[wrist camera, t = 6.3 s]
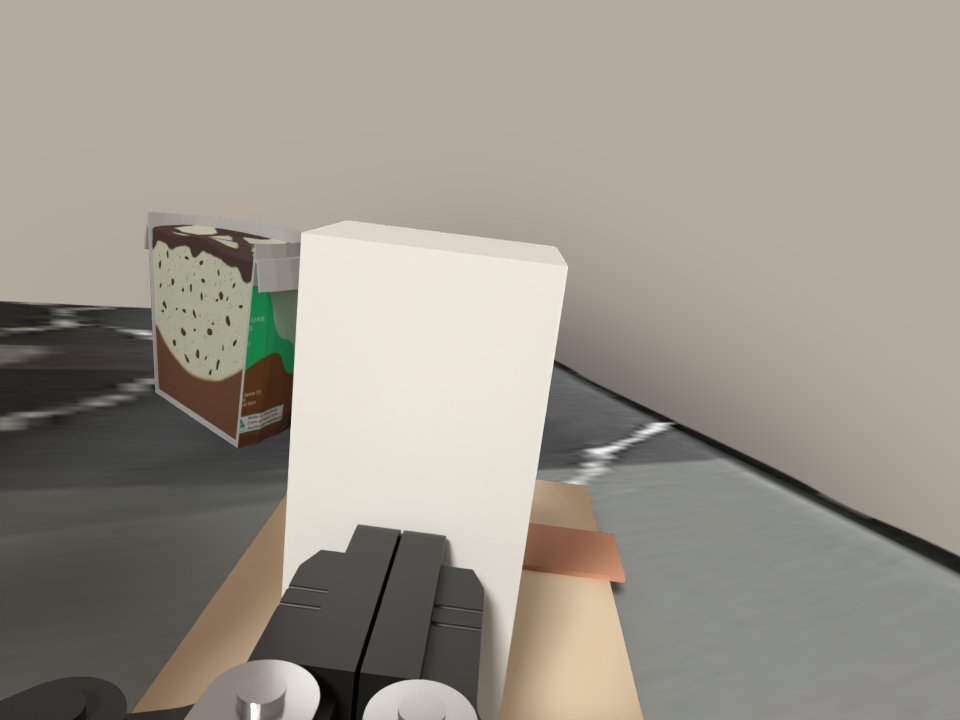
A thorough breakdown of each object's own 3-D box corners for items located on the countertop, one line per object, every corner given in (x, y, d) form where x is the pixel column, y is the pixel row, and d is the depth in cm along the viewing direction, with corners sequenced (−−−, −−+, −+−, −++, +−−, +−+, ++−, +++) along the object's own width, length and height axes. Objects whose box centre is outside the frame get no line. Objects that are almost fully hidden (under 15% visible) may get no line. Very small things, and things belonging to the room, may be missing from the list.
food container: (359, 434, 38) (374, 247, 35) (253, 459, 33) (262, 246, 31) (242, 371, 45) (247, 215, 43) (144, 384, 41) (143, 210, 38)
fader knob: (269, 818, 13) (301, 233, 10) (312, 703, 16) (346, 220, 13) (479, 846, 13) (568, 266, 10) (485, 726, 16) (555, 246, 13)
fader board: (-467, 1697, 6) (-511, 1599, 6) (314, 482, 31) (316, 446, 31) (920, 1906, 6) (978, 1825, 6) (592, 518, 31) (598, 483, 31)
